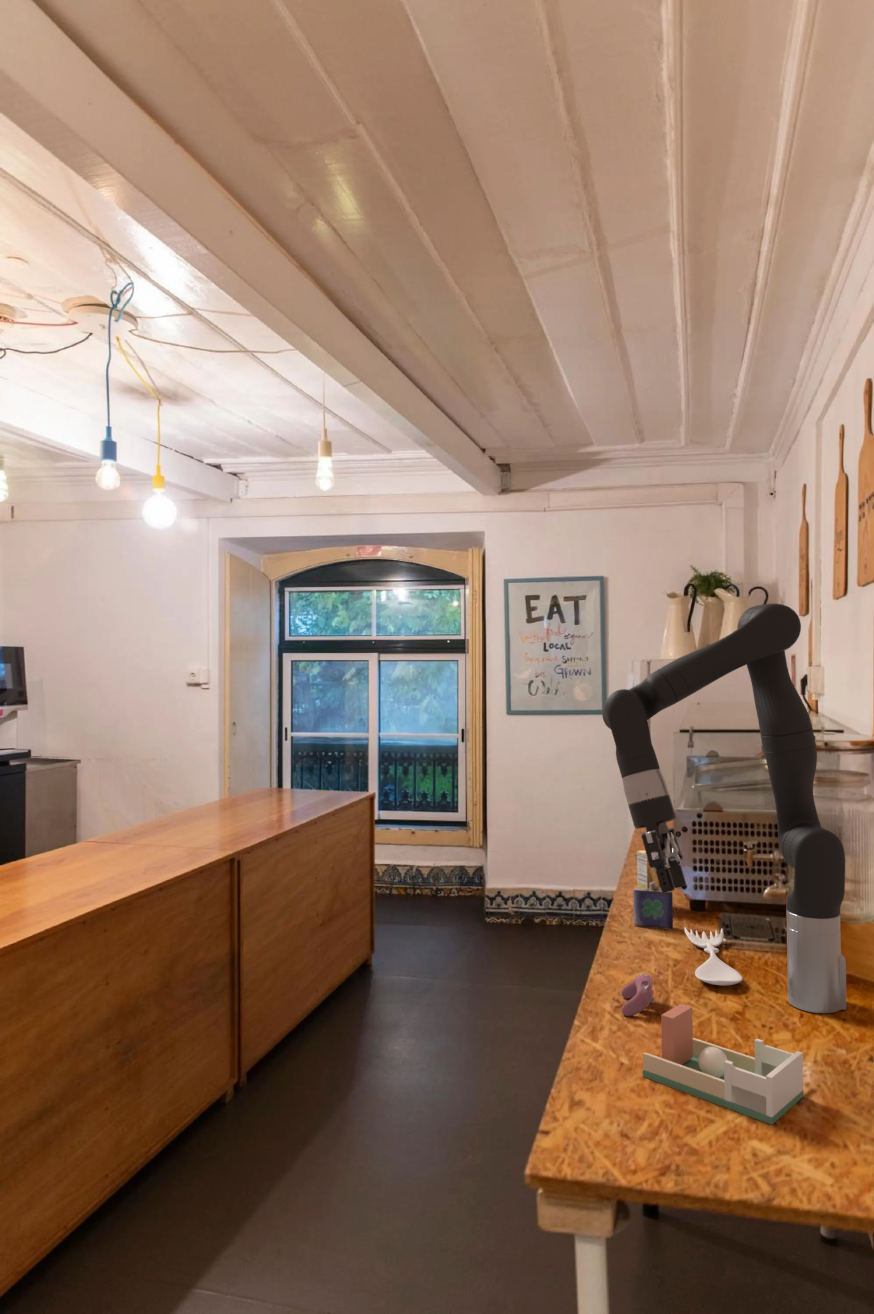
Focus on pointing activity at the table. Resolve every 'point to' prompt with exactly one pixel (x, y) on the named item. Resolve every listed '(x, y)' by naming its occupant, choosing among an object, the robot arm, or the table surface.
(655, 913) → the flask
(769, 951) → the table surface
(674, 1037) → the block
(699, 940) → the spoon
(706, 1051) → the ball
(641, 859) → the candy box
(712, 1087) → the pitch
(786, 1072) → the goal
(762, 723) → the robot arm
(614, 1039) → the table surface
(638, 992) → the video game controller
